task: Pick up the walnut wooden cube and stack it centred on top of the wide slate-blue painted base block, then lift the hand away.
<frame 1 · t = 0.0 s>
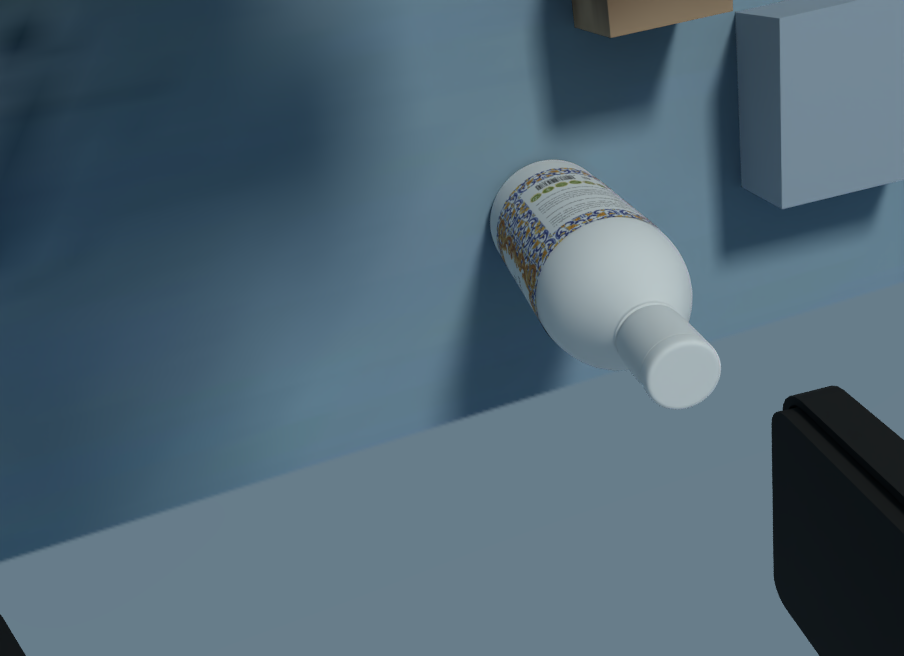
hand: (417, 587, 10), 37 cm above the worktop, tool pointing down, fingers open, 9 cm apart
base block: (818, 83, 47), on the worktop
bath foam: (545, 214, 47), on the worktop
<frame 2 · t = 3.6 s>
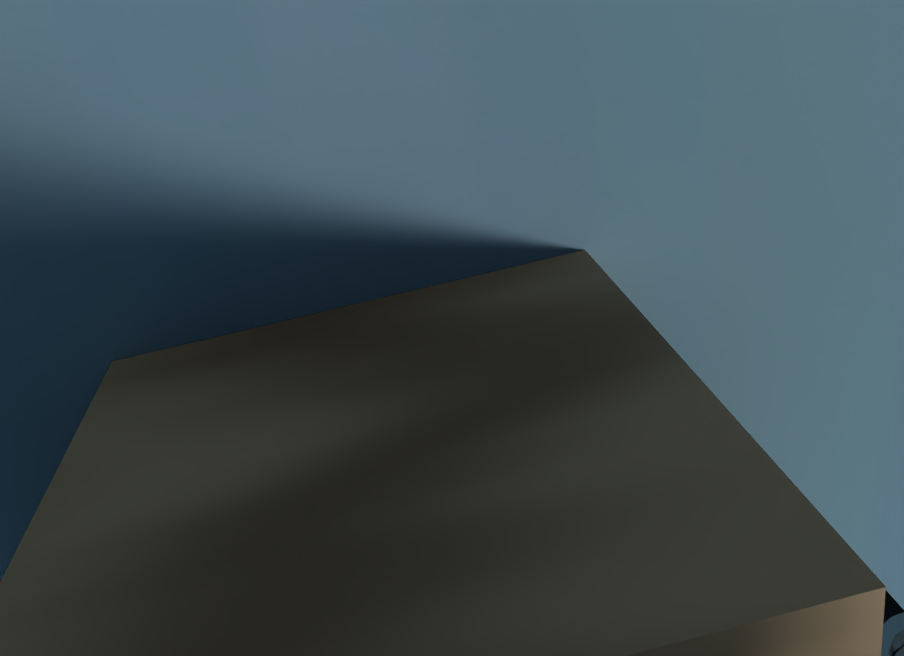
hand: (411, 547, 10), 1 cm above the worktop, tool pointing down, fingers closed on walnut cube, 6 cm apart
walnut cube: (403, 494, 11), on the worktop, touching gripper
when the fingers open (7 cm above the worktop, at t = 8.9 s): walnut cube drops 2 cm, resting on base block.
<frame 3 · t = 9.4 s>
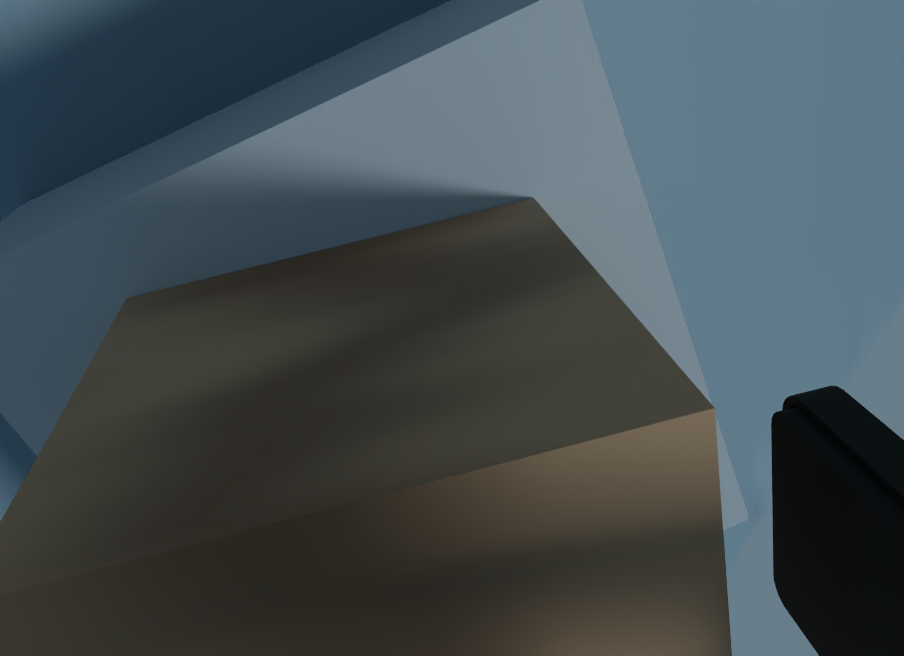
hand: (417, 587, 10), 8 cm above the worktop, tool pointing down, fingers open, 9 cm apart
base block: (373, 305, 17), on the worktop, touching walnut cube
walnut cube: (382, 419, 13), point 5 cm above the worktop, touching base block
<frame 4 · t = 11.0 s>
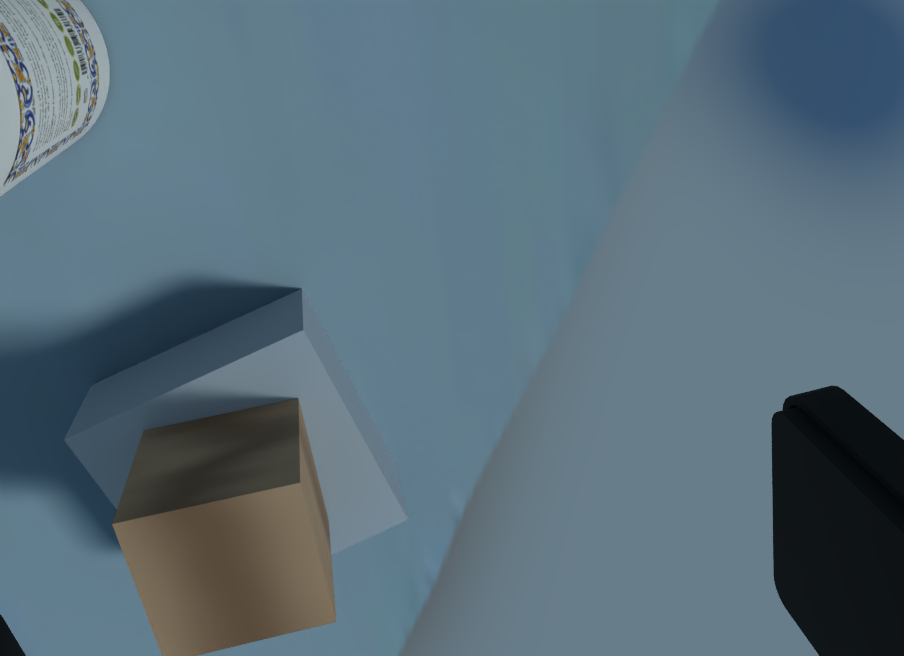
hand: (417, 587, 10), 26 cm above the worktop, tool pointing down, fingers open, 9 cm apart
base block: (252, 422, 37), on the worktop
bath foam: (13, 58, 30), on the worktop
walnut cube: (240, 477, 32), point 5 cm above the worktop
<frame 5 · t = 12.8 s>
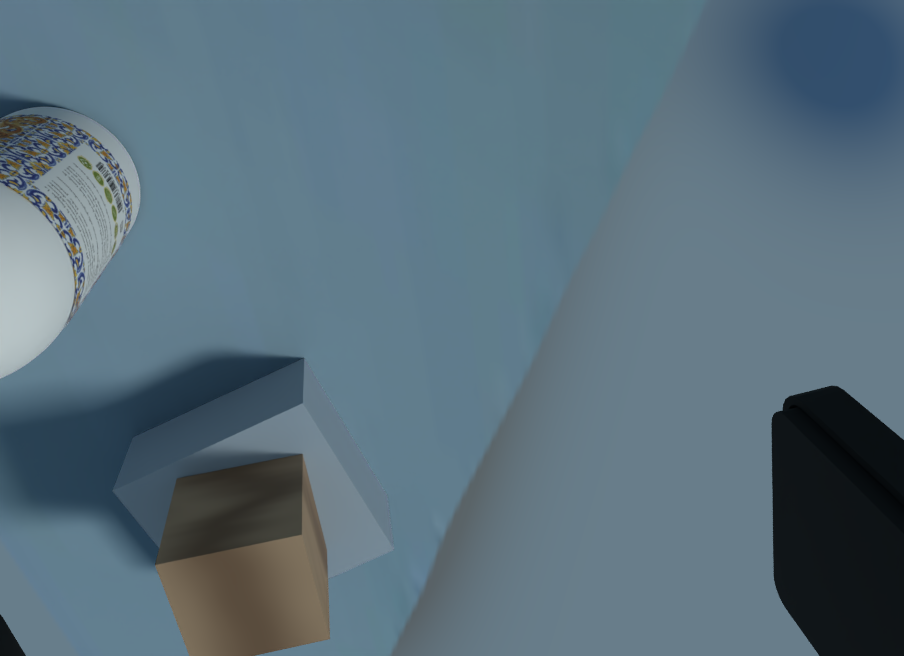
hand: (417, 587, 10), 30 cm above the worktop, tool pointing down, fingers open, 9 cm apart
base block: (266, 464, 44), on the worktop, touching walnut cube
bath foam: (63, 181, 36), on the worktop
walnut cube: (254, 515, 40), point 5 cm above the worktop, touching base block
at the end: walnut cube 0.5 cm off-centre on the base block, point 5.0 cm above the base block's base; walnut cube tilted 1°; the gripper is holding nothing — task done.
